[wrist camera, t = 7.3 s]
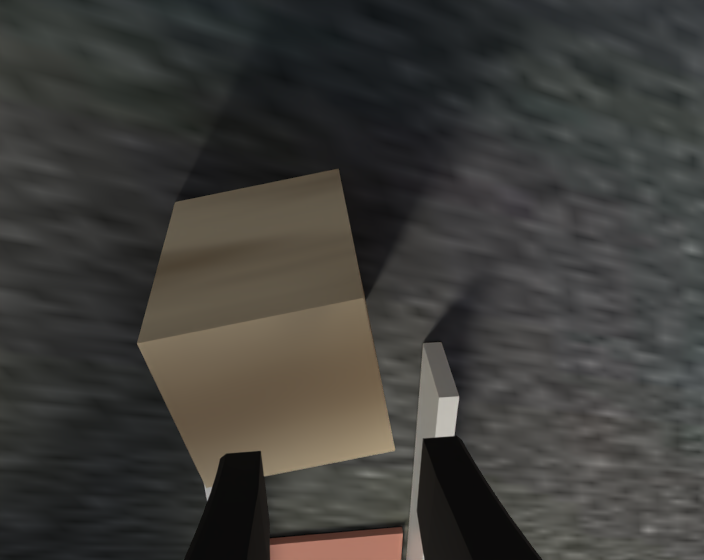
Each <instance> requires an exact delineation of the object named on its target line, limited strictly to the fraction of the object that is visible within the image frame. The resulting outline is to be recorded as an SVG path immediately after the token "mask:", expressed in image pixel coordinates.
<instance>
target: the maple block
mask: <svg viewBox="0 0 704 560" xmlns="http://www.w3.org/2000/svg"><path fill="white" fill-rule="evenodd" d="M137 345H138V347H139V349H140V351H141V353H142V355H143V357H144V359H145V361H146V363H147V365H148V368H149V370H150V372H151V374H152V376H153V378H154V380H155V382H156V384H157V386H158V388H159V391H160V393H161V395H162V397H163V399H164V401H165V403H166V405H167V407H168V409H169V411H170V413H171V416H172V418H173V420H174V422H175V424H176V426H177V428H178V430H179V432H180V434H181V436H182V438H183V441H184V443H185V445H186V447H187V449H188V451H189V453H190V455H191V457H192V459H193V461H194V463H195V466H196V468H197V470H198V472H199V474H200V476H201V478H202V480H203V482H204V484H205V486H206V488H208V487H212V486H213V483H214V480H215V477H216V473H217V469H218V465H219V461H220V458H221V457H222V456H224V455H225V454H226V453H239V452H252V451H261V455H262V463H263V472H264V476H269V475H274V474H279V473H284V472H289V471H295V470H300V469H305V468H310V467H315V466H320V465H325V464H330V463H335V462H340V461H345V460H350V459H355V458H360V457H365V456H371V455H376V454H381V453H386V452H391V451H395V447H394V442H393V437H392V432H391V427H390V422H389V417H388V412H387V407H386V402H385V396H384V391H383V386H382V381H381V376H380V371H379V366H378V361H377V356H376V351H375V346H374V341H373V336H372V331H371V326H370V321H369V316H368V311H367V306H366V300H365V296H364V291H363V286H362V281H361V276H360V271H359V266H358V261H357V256H356V252H355V247H354V242H353V237H352V232H351V227H350V222H349V217H348V212H347V207H346V203H345V198H344V193H343V188H342V183H341V178H340V173H339V169H334V170H329V171H325V172H320V173H315V174H310V175H305V176H300V177H295V178H290V179H285V180H281V181H276V182H271V183H266V184H261V185H256V186H251V187H246V188H241V189H237V190H232V191H227V192H222V193H217V194H212V195H207V196H202V197H197V198H193V199H188V200H183V201H178V202H175V204H174V208H173V212H172V216H171V219H170V223H169V227H168V230H167V234H166V238H165V241H164V245H163V249H162V253H161V256H160V260H159V264H158V267H157V271H156V275H155V279H154V282H153V286H152V290H151V293H150V297H149V301H148V304H147V308H146V312H145V316H144V319H143V323H142V327H141V330H140V334H139V338H138V342H137Z"/></svg>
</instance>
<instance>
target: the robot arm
mask: <svg viewBox="0 0 704 560" xmlns="http://www.w3.org/2000/svg"><path fill="white" fill-rule="evenodd" d="M417 517H418V523H419V529H420V536H421V542H422V548H423V554H424V560H542V559H541V557H540V556H539V555H538V553H537V552H536V551H535V550H534V548H533V547H532V546H531V544H530V543H529V541H528V540H527V539H526V537H525V536H524V535H523V533H522V532H521V531H520V529H519V528H518V526H517V525H516V524H515V522H514V521H513V520H512V518H511V517H510V515H509V514H508V513H507V511H506V510H505V508H504V507H503V505H502V504H501V502H500V501H499V499H498V498H497V496H496V495H495V493H494V492H493V490H492V489H491V487H490V486H489V484H488V483H487V481H486V480H485V478H484V477H483V475H482V473H481V472H480V470H479V469H478V467H477V465H476V464H475V462H474V460H473V459H472V457H471V455H470V454H469V452H468V450H467V448H466V447H465V445H464V443H463V441H462V440H461V439H460V438H459V437H457V436H448V437H435V438H423V442H422V454H421V466H420V477H419V489H418V500H417ZM184 560H270V523H269V514H268V506H267V497H266V489H265V480H264V472H263V463H262V455H261V451H252V452H239V453H226V454H225V455H224V456H222V457H221V458H220V461H219V465H218V469H217V473H216V477H215V480H214V483H213V486H212V490H211V493H210V496H209V498H208V501H207V504H206V507H205V510H204V512H203V515H202V518H201V520H200V523H199V525H198V528H197V530H196V533H195V535H194V538H193V540H192V542H191V545H190V547H189V549H188V552H187V554H186V556H185V559H184Z"/></svg>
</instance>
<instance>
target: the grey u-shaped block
mask: <svg viewBox="0 0 704 560" xmlns="http://www.w3.org/2000/svg"><path fill="white" fill-rule="evenodd" d="M458 402H459V394H458V391H457V388H456V385H455V382H454V379H453V376H452V373H451V370H450V367H449V364H448V361H447V358H446V355H445V352H444V349H443V346H442V343H441V342H434V343H423V352H422V365H421V377H420V390H419V403H418V416H417V429H416V442H415V455H414V467H413V480H412V493H411V506H410V519H409V532H408V544H407V557H406V560H424V554H423V548H422V542H421V536H420V529H419V523H418V517H417V500H418V489H419V477H420V466H421V454H422V442H423V438H435V437H448V436H454V434H455V426H456V418H457V410H458ZM204 487H205V492H206V497H207V501H208V498H209V496H210V493H211V490H212V487H208V488H206V486H205V484H204ZM402 538H403V531H402V527H395V528H383V529H372V530H360V531H349V532H337V533H326V534H314V535H303V536H292V537H280V538H270V560H401V553H402Z"/></svg>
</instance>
